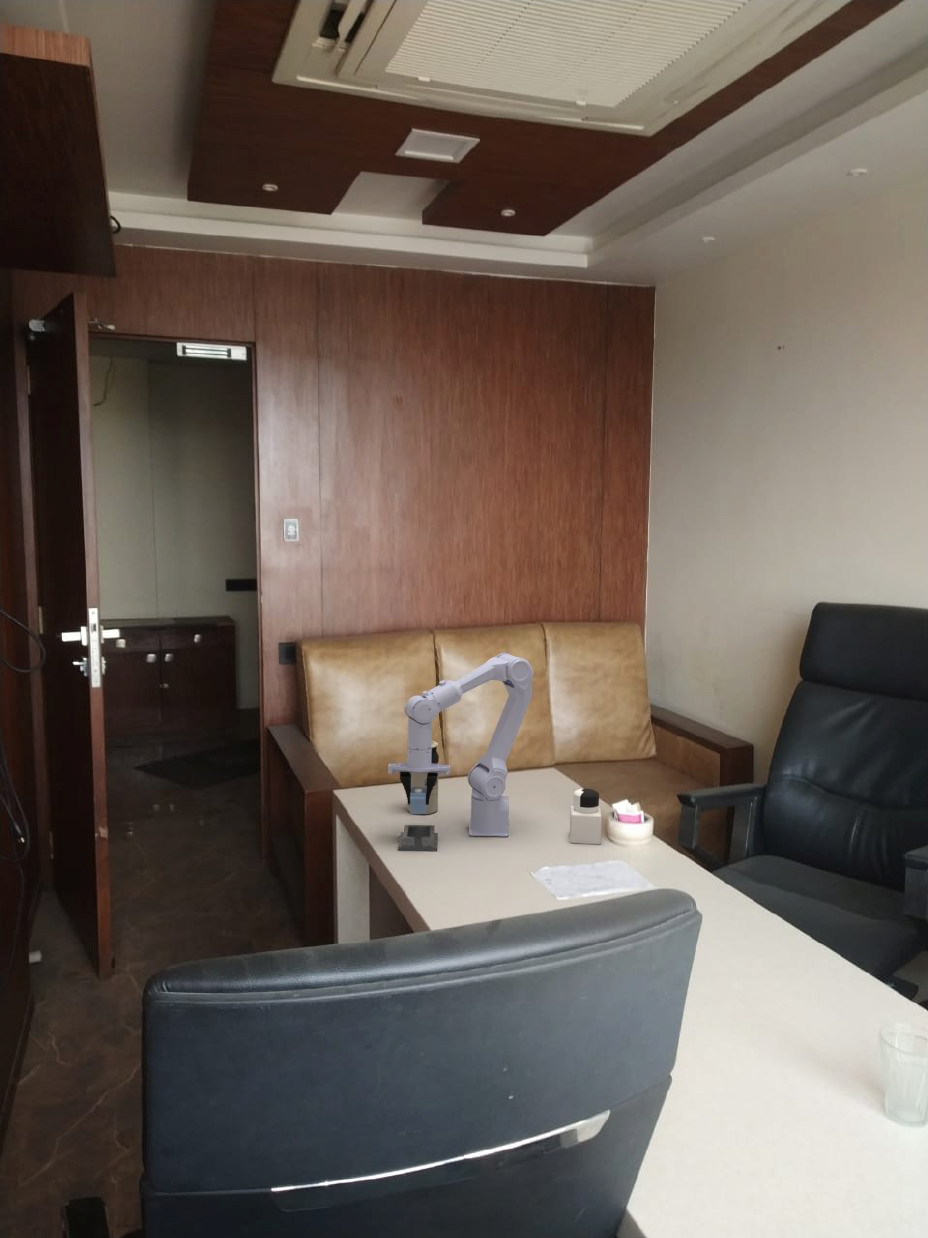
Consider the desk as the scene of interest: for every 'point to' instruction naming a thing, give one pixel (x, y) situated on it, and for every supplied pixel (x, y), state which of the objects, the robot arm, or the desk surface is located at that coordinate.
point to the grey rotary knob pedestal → (585, 817)
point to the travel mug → (421, 781)
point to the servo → (418, 800)
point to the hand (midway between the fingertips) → (418, 803)
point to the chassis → (418, 838)
